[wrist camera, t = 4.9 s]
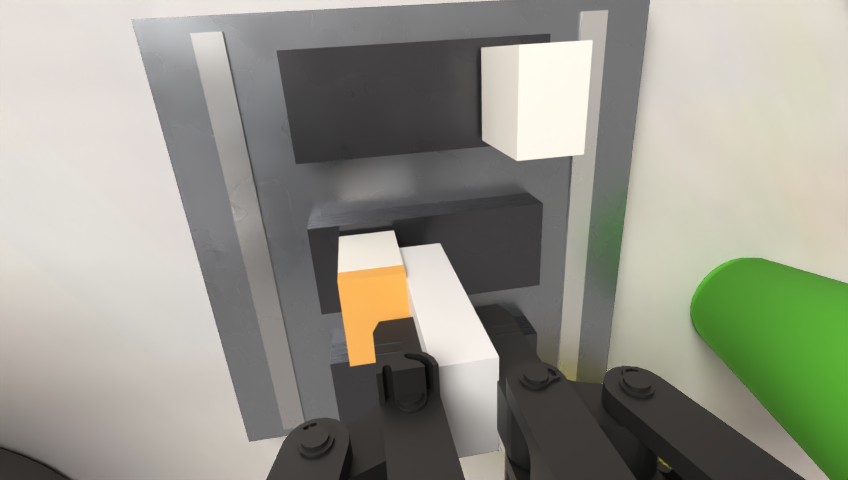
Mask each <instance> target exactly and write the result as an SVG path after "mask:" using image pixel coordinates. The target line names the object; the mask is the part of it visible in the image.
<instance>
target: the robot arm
mask: <svg viewBox="0 0 848 480" xmlns="http://www.w3.org/2000/svg"><path fill="white" fill-rule="evenodd" d="M399 250H400V254H401V258H402V261H403V265H404V268H405V272H406V280H407V292H408V304H409V316H410V317H407V318H400V319H393V320H386V321H379V322H378V324H377V326H376V328H375V329H374V331H373V340H374V350H375V359H376V369H377V371H376V378H377V386H378V394H379V397H378V400H377V403H376V405H375V406H374V408H373V409H372V410H371V411H370V412H369V413H368V414H367V415H365V416H364V417H362V418H361V419H359V420H357V421H355V422H353V423H351V424H348V425H346V426H345V424H343V423H342V422H340V421H338V420H337V419H332V418H326V417H324V418H316V419H312V420H309V421H307V422H304V423H302V424H300V425H299V426H298V427H296V428H295V429H294V430H292V431H291V432H290V433H289V435H288V436H287V438H286V439H285V440H284V442H283V444H282V446H281V448H280V451H279V453H278V455H277V457H276V459H275V462H274V464H273V466H272V468H271V470H270V473H269V475H268V477H267V479H266V480H465V478H464V475H463V472H462V468H461V465H460V461H459V458H461V457H467V456H472V455H477V454H483V453H488V452H494V451H499V436H500V438H501V440H502V443H503V445H504V448H505V480H805V479H804V478H802V477H801V476H800V475H798V474H797V473H795V472H794V471H792V470H791V469H790V468H788V467H787V466H785V465H784V464H783V463H781V462H780V461H778V460H777V459H775V458H774V457H773V456H771V455H770V454H768V453H767V452H766V451H764V450H763V449H761V448H760V447H758V446H757V445H756V444H754V443H753V442H751V441H750V440H749V439H747V438H746V437H744V436H743V435H741V434H740V433H739V432H737V431H736V430H734V429H733V428H732V427H730V426H729V425H727V424H726V423H724V422H723V421H722V420H720V419H719V418H717V417H716V416H715V415H713V414H712V413H710V412H709V411H707V410H706V409H705V408H703V407H702V406H700V405H699V404H698V403H696V402H695V401H693V400H692V399H690V398H689V397H688V396H686V395H685V394H683V393H682V392H681V391H679V390H678V389H676V388H675V387H673V386H672V385H671V384H669V383H668V382H666V381H665V380H664V379H662V378H661V377H659V376H657V375H656V374H654V373H652V372H650V371H648V370H645V369H641V368H638V367H630V366H621V367H616V368H613V369H611V370H610V371H608V372H607V373H606V375H605V377H604V379H603V384H602V383H588V382H578V381H571V380H568V379H567V378H566V377H565V375H564V374H563V373H562V372H561V371H560V370H559V369H558V368H556V367H554V366H552V365H550V364H548V363H545V362H542V361H541V360H540V358H539V356H538V355H537V353H536V352H535V350H534V349H533V347H532V346H531V344H530V343H529V341H528V340H527V338H526V337H525V335H524V333H522V330H521V329H520V327H519V326H518V324H516V321H515V320H514V318H513V317H512V315H511V314H510V312H509V311H507V310H506V309H504V308H503V307H501V306H500V305H498V304H491V305H484V306H477V307H473V306H472V304H471V302H470V300H469V298H468V296H467V294H466V292H465V290H464V289H463V287H462V285H461V283H460V281H459V279H458V277H457V275H456V273H455V271H454V269H453V267H452V265H451V264H450V262H449V260H448V258H447V256H446V254H445V252H444V250H443V248H442V246H441V244H440V243H436V244H428V245H420V246H411V247H403V248H399ZM659 458H660V459H662V460H663V461H664V462H665V463H666V464H667V465H668V466H669V467H670V468H668V467H667V466H665V465H664V464H663V463H662V462H660V461H659ZM671 468H672V469H671ZM0 480H66V479H65V478H63V477H62V476H60V475H59V474H57V473H55V472H54V471H52V470H50V469H49V468H47V467H45V466H43V465H41V464H39V463H37V462H35V461H32V460H30V459H28V458H25V457H23V456H21V455H18V454H15V453H12V452H10V451H7V450H3V449H0Z"/></svg>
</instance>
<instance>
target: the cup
mask: <svg viewBox="0 0 848 480" xmlns="http://www.w3.org/2000/svg"><path fill="white" fill-rule="evenodd" d="M691 317H692V321H693V323H694V325H695V328H696V330H697V332H698V333H699V334H700V336H701V337H702V338H703V339H704V340H705V341H706V343H707V344H708V345H709V346H710V347H711V348H712V349H713V350H714V351H715V353H716V354H717V355H718V356H719V357H720V358H721V359H722V360H723V361H724V362H725V364H726V365H727V366H728V367H729V368H730V369H731V370H732V371H733V372H734V374H735V375H736V376H737V377H738V378H739V379H740V380H741V381H742V382H743V384H744V385H745V386H746V387H747V388H748V389H749V390H750V391H751V392H752V394H753V395H754V396H755V397H756V398H757V399H758V400H759V401H760V402H761V403H762V405H763V406H764V407H765V408H766V409H767V410H768V411H769V412H770V413H771V415H772V416H773V417H774V418H775V419H776V420H777V421H778V422H779V423H780V425H781V426H782V427H783V428H784V429H785V430H786V431H787V432H788V433H789V435H790V436H791V437H792V438H793V439H794V440H795V441H796V442H797V443H798V445H799V446H800V447H801V448H802V449H803V450H804V451H805V452H806V453H807V454H808V456H809V457H810V458H811V459H812V460H813V461H814V462H815V463H816V464H817V466H818V467H819V468H820V469H821V470H822V471H823V472H824V473H825V474H826V476H827V477H828V478H829V479H830V480H848V284H847V283H844V282H841V281H837V280H834V279H830V278H827V277H824V276H820V275H817V274H813V273H810V272H806V271H803V270H800V269H796V268H793V267H789V266H786V265H783V264H779V263H776V262H772V261H769V260H765V259H762V258H740V259H735V260H731V261H729V262H726V263H724V264H722V265H720V266H719V267H717V268H716V269H714V270H713V271H712V272H711V273H710V274H709V275H708V276H707V277H705V278H704V280H703V281H702V282H701V284H700V285H699V286H698V288H697V290H696V292H695V294H694V296H693V299H692V303H691Z"/></svg>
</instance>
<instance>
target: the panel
mask: <svg viewBox="0 0 848 480" xmlns="http://www.w3.org/2000/svg"><path fill="white" fill-rule="evenodd" d="M649 4H650V0H500V1H481V2H461V3H441V4H422V5H402V6H383V7H363V8H344V9H324V10H305V11H285V12H266V13H246V14H226V15H207V16H187V17H168V18H148V19H131V20H132V24H133V28H134V31H135V35H136V38H137V42H138V45H139V49H140V53H141V56H142V60H143V63H144V67H145V70H146V74H147V78H148V81H149V85H150V88H151V92H152V96H153V99H154V103H155V106H156V110H157V113H158V117H159V121H160V124H161V128H162V131H163V135H164V139H165V142H166V146H167V149H168V153H169V156H170V160H171V164H172V167H173V171H174V174H175V178H176V182H177V185H178V189H179V192H180V196H181V199H182V203H183V207H184V210H185V214H186V217H187V221H188V225H189V228H190V232H191V235H192V239H193V242H194V246H195V250H196V253H197V257H198V260H199V264H200V268H201V271H202V275H203V278H204V282H205V285H206V289H207V293H208V296H209V300H210V303H211V307H212V311H213V314H214V318H215V321H216V325H217V328H218V332H219V336H220V339H221V343H222V346H223V350H224V354H225V357H226V361H227V364H228V368H229V371H230V375H231V379H232V382H233V386H234V389H235V393H236V397H237V400H238V404H239V407H240V411H241V414H242V418H243V422H244V425H245V429H246V432H247V436H248V440H249V442H251V441H257V440H263V439H269V438H275V437H281V436H287V435H289V433H290V432H291V431H292V430H294V429H295V428H296V427H298V426H299V425H300V424H302V423H304V422H307V421H309V420H312V419H316V418H324V417H326V418H332V419H337V420H338V421H340V422H342V423H343V424H345V426H346V425H348V424H351V423H353V422H355V421H357V420H359V419H361V418H362V417H364V416H365V415H367V414H368V413H369V412H370V411H371V410H372V409H373V408H374V406H375V405H376V403H377V400H378V397H379V394H378V386H377V378H376V371H377V369H376V363H370V364H363V365H356V366H350V362H349V355H348V349H347V342H346V336H345V329H344V322H343V316H342V309H341V302H340V296H339V289H338V283H337V279H338V251H339V237H341V236H350V235H358V234H367V233H376V232H384V231H393V230H394V233H395V236H396V240H397V243H398V247H399V248H403V247H411V246H420V245H428V244H436V243H440V244H441V246H442V248H443V250H444V252H445V254H446V256H447V258H448V260H449V262H450V264H451V265H452V267H453V269H454V271H455V273H456V275H457V277H458V279H459V281H460V283H461V285H462V287H463V289H464V290H465V292H466V294H467V296H468V298H469V300H470V302H471V304H472V306H473V307H477V306H484V305H491V304H498V305H500V306H501V307H503V308H504V309H506V310H507V311H509V312H510V314H511V315H512V317H513V318H514V320H515V321H516V324H518V326H519V327H520V329H521V330H522V333H524V335H525V337H526V338H527V340H528V341H529V343H530V344H531V346H532V347H533V349H534V350H535V352H536V353H537V355H538V356H539V358H540V360H541V361H542V362H545V363H548V364H550V365H552V366H554V367H556V368H558V369H559V370H560V371H561V372H562V373H563V374H564V375H565V377H566V378H567V379H568V380H571V381H578V382H588V383H603V379H604V377H605V375H606V368H607V360H608V351H609V343H610V335H611V326H612V318H613V309H614V301H615V292H616V284H617V275H618V267H619V258H620V250H621V241H622V233H623V224H624V216H625V207H626V199H627V190H628V182H629V174H630V165H631V157H632V148H633V140H634V131H635V123H636V114H637V106H638V97H639V89H640V80H641V72H642V63H643V55H644V46H645V38H646V30H647V21H648V13H649ZM584 40H593V44H592V57H591V70H590V83H589V96H588V109H587V122H586V135H585V148H584V155H573V156H563V157H553V158H543V159H533V160H523V161H516V160H514V159H513V158H511V157H509V156H508V155H506V154H504V153H503V152H501V151H499V150H498V149H496V148H494V147H493V146H491V145H489V144H488V143H486V142H484V141H483V140H482V74H481V48H483V47H496V46H509V45H522V44H537V43H553V42H568V41H584Z"/></svg>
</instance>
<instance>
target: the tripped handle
mask: <svg viewBox="0 0 848 480" xmlns="http://www.w3.org/2000/svg"><path fill="white" fill-rule="evenodd" d="M337 283H338V289H339V296H340V302H341V309H342V316H343V322H344V329H345V336H346V342H347V349H348V355H349V362H350V366H356V365H363V364H370V363H376V359H375V350H374V340H373V331H374V329H375V328H376V326H377V324H378V322H379V321H386V320H393V319H400V318H407V317H410V316H409V304H408V292H407V280H406V272H405V268H404V265H403V261H402V258H401V254H400V250H399V247H398V243H397V240H396V236H395V233H394V230H393V231H384V232H376V233H367V234H358V235H350V236H341V237H339V251H338V279H337Z"/></svg>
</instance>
